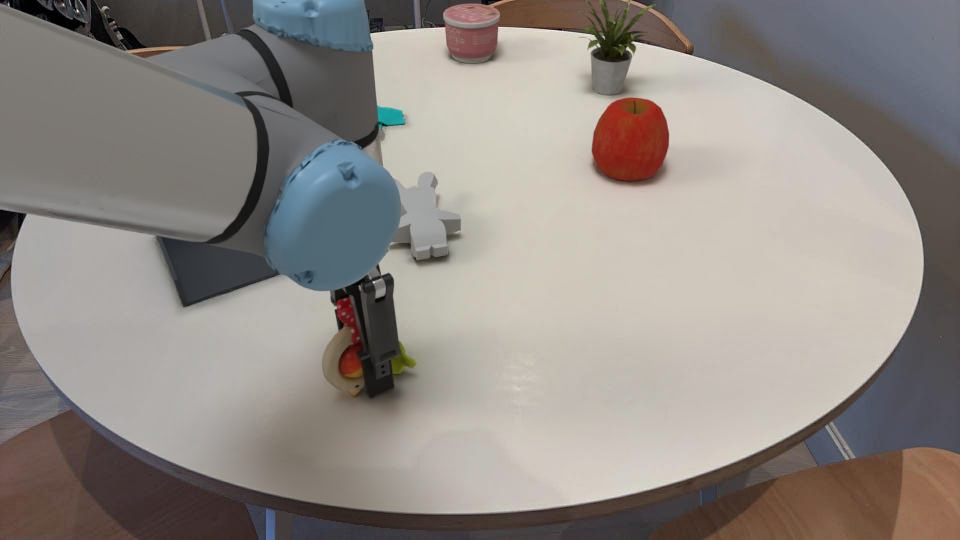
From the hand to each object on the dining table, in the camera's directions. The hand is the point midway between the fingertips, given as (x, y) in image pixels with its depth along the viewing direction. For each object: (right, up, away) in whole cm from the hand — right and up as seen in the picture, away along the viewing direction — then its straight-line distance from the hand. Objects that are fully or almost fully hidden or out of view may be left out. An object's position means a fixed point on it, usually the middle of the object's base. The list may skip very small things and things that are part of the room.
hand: (367, 370), depth 72 cm
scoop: (-21, +16, +20) cm, 34 cm away
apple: (+33, +25, +31) cm, 52 cm away
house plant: (+33, +42, +51) cm, 74 cm away
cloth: (-14, +34, +42) cm, 56 cm away
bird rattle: (0, -1, 0) cm, 1 cm away
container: (+10, +51, +63) cm, 82 cm away
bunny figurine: (+4, +15, +20) cm, 25 cm away
